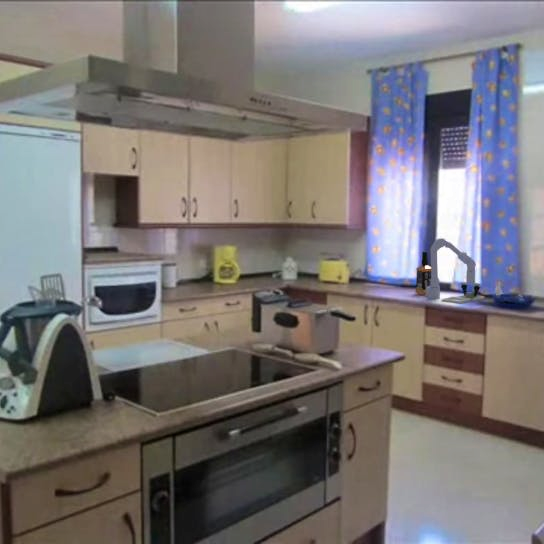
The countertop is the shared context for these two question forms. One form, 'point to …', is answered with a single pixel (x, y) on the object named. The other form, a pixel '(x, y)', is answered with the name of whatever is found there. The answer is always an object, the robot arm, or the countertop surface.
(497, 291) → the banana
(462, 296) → the tray
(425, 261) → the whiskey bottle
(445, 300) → the tray
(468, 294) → the stone
